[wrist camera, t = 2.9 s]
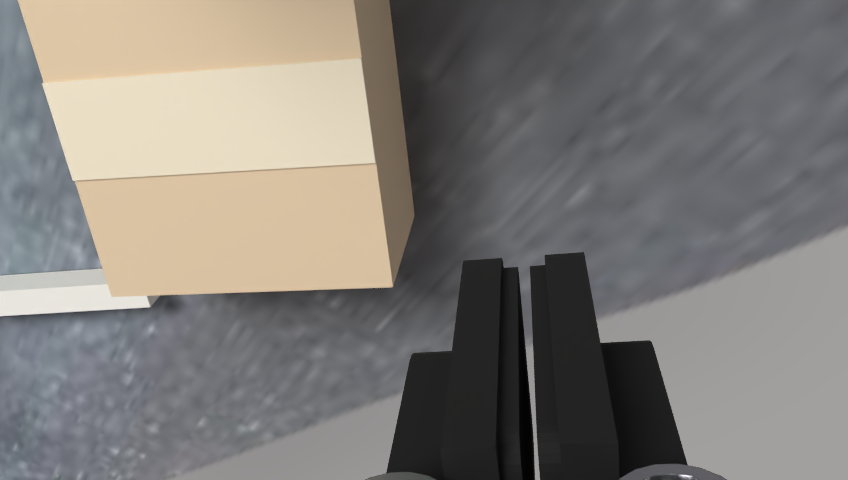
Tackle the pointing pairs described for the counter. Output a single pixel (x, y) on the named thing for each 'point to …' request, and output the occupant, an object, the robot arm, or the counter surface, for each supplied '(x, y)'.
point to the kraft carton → (231, 140)
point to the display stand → (62, 293)
